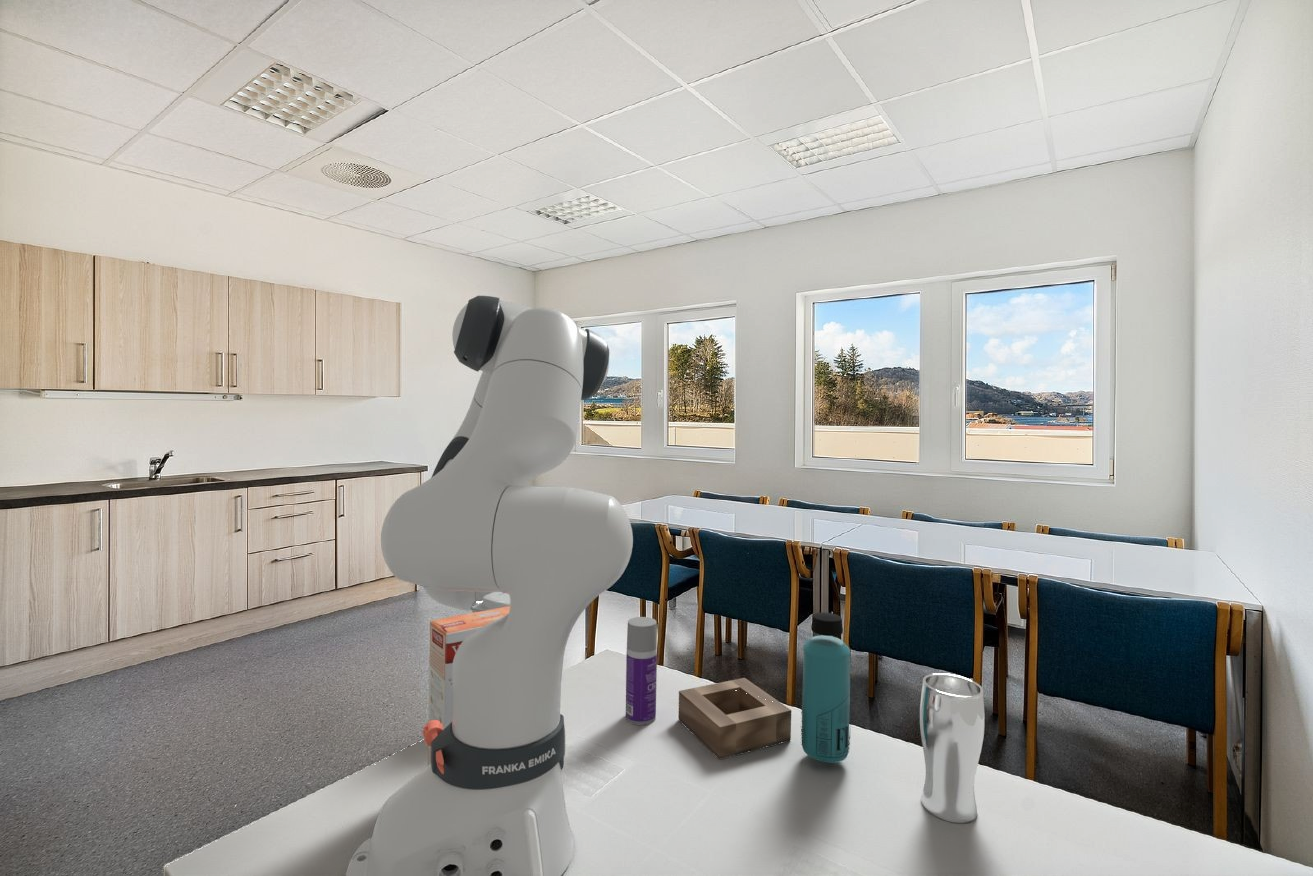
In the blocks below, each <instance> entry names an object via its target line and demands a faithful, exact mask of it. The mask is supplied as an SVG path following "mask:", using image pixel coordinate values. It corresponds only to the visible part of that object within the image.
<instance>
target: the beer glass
mask: <svg viewBox="0 0 1313 876" xmlns="http://www.w3.org/2000/svg"><path fill="white" fill-rule="evenodd" d="M920 694H921V696H920V702H919V703H920V705H919V725H920V726H919V727H920V736H921V744H922V750H923V756H924V764H925V779H924V784H923V785H924V786H923V789H922V792H921V797H920V800H921V803H922V806H923V807H924V808H925V809H926V810H927V812H929V813H930V814H932V815H933V816H934V817H937V818H938V819H941V820H942V821H943V820H944V821H945V822H946V821H947V822H950V823H956V824H967V823H971V822H973V821H974V820H976V818H977V816H978V809H977V808H978V807H977V801H976V795H975V778H976V774H977V769H978V765H979V761H980V756H981V753H982V748H983V742H984V737H985V736H984V735H985V704H984V688H983V687H982V686H981V685H980V684H979V683H978V682H976V681H974V680H972V679H969V678H967V677H964V676H961V675H956V674H951V673H945V672H944V673H943V672H942V673H939V672H938V673H937V672H936V673H930V674H927V675H925V676H923V679H922V687H921V693H920Z"/></svg>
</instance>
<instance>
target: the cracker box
mask: <svg viewBox="0 0 1313 876" xmlns="http://www.w3.org/2000/svg"><path fill="white" fill-rule="evenodd" d="M509 610H510V606H507V607H502V608H497V609H491V610H486V611H481V612H475V613H473V612H470V613H466V614H460V615H454V616H449V617H444V618H438V619H434V620H431V621H429V663H428V664H429V665H428V666H429V668H428V670H429V671H428V672H429V673H428V678H429V679H428V722H429V721H432V720H438V721H440V723H442V726H443V730H444V729H445V728H446V727H447V726H448V725H449V724H450V723H451V722H452V664H453V660H454V657H455V654H456V651H457V650H458V648H459V646H460V644H461V643H462V642H463V641H464V639H465V638H466V637H467V636H469V635H470V634H471V633H473V632H474V631H476V630H477V629H479V628H481V627H482V626H484V625H486V624H488V623H490V622H492V621H495V620H497V619H499V618H501V617H504V616H506V615H507V614H509ZM427 746H428V747H427V766H428V765H429V764H430V763H431V746H429V745H427Z"/></svg>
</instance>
